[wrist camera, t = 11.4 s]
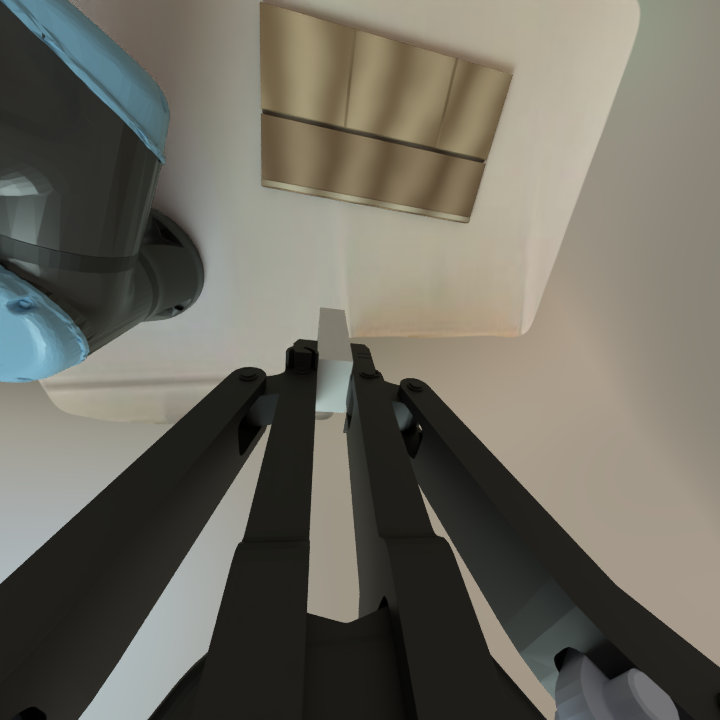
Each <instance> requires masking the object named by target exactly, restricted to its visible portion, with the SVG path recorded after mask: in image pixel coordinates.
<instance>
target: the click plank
mask: <svg viewBox="0 0 720 720" xmlns="http://www.w3.org/2000/svg"><path fill="white" fill-rule="evenodd" d="M261 159H262V179H261V182H262V186H263V187H268V188H273V189H279V190H284V191H290V192H295V193H301V194H306V195H312V196H317V197H323V198H328V199H334V200H339V201H345V202H350V203H356V204H361V205H367V206H372V207H378V208H383V209H389V210H394V211H400V212H405V213H411V214H416V215H422V216H428V217H433V218H439V219H444V220H450V221H455V222H461V223H468V222H469V220H470V215H471V212H472V209H473V205H474V202H475V198H476V195H477V191H478V188H479V185H480V181H481V178H482V174H483V171H484V167H485V164H484V163H480V162H475V161H471V160H466V159H462V158H457V157H453V156H449V155H444V154H440V153H435V152H431V151H426V150H422V149H417V148H413V147H408V146H404V145H400V144H395V143H391V142H386V141H382V140H377V139H373V138H368V137H364V136H359V135H355V134H351V133H346V132H342V131H337V130H333V129H328V128H324V127H319V126H315V125H310V124H306V123H302V122H297V121H293V120H288V119H284V118H279V117H275V116H270V115H266V114H261Z"/></svg>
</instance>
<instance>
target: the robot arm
mask: <svg viewBox="0 0 720 720" xmlns="http://www.w3.org/2000/svg"><path fill="white" fill-rule="evenodd" d="M169 120H170V111H169V106H168V103H167V100H166V98H165V96H164V94H163V92H162V90H161V89H160V87H159V86H158V85H157V83H156V82H155V81H154V80H153V78H152V77H151V76H150V75H149V74H148V73H147V72H146V71H145V70H144V69H143V68H142V67H141V66H140V65H139V64H138V63H137V62H136V61H135V60H134V59H133V58H132V57H131V56H130V55H128V54H127V53H126V52H125V51H124V50H123V49H122V48H121V47H120V46H119V45H118V44H116V43H115V42H114V41H113V40H112V39H111V38H110V37H109V36H108V35H107V34H105V33H104V32H103V31H102V30H101V29H100V28H99V27H98V26H96V25H95V24H94V23H93V22H92V21H91V20H90V19H89V18H87V17H86V16H85V15H84V14H83V13H82V12H81V11H79V10H78V9H77V8H76V7H75V6H74V5H73V4H71V3H70V2H69V1H68V0H0V381H1V382H29V381H33V380H39V379H44V378H47V377H50V376H52V375H54V374H57V373H59V372H61V371H63V370H65V369H67V368H69V367H71V366H74V365H77V364H79V363H81V362H82V361H84V360H85V358H87V356H89V355H90V354H92V353H93V352H95V351H96V350H98V349H100V348H101V347H103V346H104V345H106V344H107V343H109V342H111V341H112V340H114V339H115V338H117V337H118V336H120V335H122V334H123V333H125V332H126V331H128V330H130V329H131V328H133V327H134V326H136V325H137V324H139V323H140V322H147V321H157V320H165V319H169V318H172V317H175V316H177V315H179V314H181V313H182V312H184V311H185V310H187V309H188V308H189V307H191V306H192V305H193V304H194V303H195V302H196V300H197V299H198V297H199V295H200V293H201V291H202V287H203V282H204V272H203V266H202V262H201V259H200V256H199V254H198V252H197V250H196V248H195V246H194V244H193V243H192V241H191V240H190V238H189V237H188V236H187V234H186V233H185V232H184V231H183V230H182V229H181V228H180V227H179V226H178V225H177V224H176V223H175V222H174V221H172V220H171V219H170V218H168V217H167V216H165V215H164V214H162V213H161V212H159V211H157V210H155V209H153V208H151V205H152V201H153V197H154V193H155V189H156V185H157V181H158V177H159V173H160V169H161V165H162V164H163V165H164V164H165V161H166V160H165V156H164V154H163V153H164V148H165V142H166V137H167V131H168V126H169ZM346 407H347V413H346V419H345V425H344V431H343V432H344V433H347V446H348V458H349V469H350V481H351V493H352V505H353V517H354V529H355V541H356V552H357V564H358V576H359V590H360V598H359V619H357V620H355V621H352V622H349V623H343V622H339V621H335V620H331V619H328V618H324V617H320V616H317V615H313V614H309V613H307V597H308V575H309V553H310V552H309V551H310V540H309V531H310V511H311V491H312V490H311V489H312V470H313V450H314V430H315V411H322V412H342V413H345V409H346ZM270 424H272V425H271V430H270V434H269V437H268V442H267V446H266V450H265V454H264V458H263V462H262V466H261V470H260V474H259V478H258V482H257V486H256V490H255V494H254V498H253V502H252V506H251V510H250V514H249V518H248V522H247V526H246V531H245V534H244V538H243V540H242V542H240V543H239V544H238V546H237V548H236V550H235V553H234V557H233V560H232V563H231V567H230V571H229V574H228V578H227V582H226V586H225V590H224V593H223V597H222V601H221V605H220V609H219V612H218V616H217V620H216V624H215V628H214V631H213V635H212V639H211V643H210V646H209V650H208V652H207V653H206V654H205V655H204V656H203V657H202V658H201V659H200V660H198V661H197V662H196V663H195V664H194V665H193V666H192V667H191V668H190V669H189V670H188V671H187V673H185V675H184V676H183V677H182V678H181V679H180V680H179V681H178V682H177V684H176V685H175V686H174V687H173V688H172V690H171V691H170V692H169V693H168V695H167V696H166V697H165V699H164V700H163V701H162V702H161V704H160V705H159V706H158V707H157V709H156V710H155V711H154V712H153V714H152V715H151V716H150V718H149V719H148V720H547V719H546V718H545V717H544V716H543V715H542V713H541V712H540V711H539V710H538V709H537V708H536V707H535V705H534V704H533V703H532V702H531V701H530V700H529V699H528V697H527V696H526V695H525V694H524V693H523V692H522V691H521V689H520V688H519V687H518V686H517V685H516V684H515V683H514V681H513V680H512V679H511V678H510V677H509V676H508V674H507V673H506V672H505V671H504V670H503V669H502V667H501V666H500V665H499V664H498V663H497V662H496V661H495V659H494V658H493V657H492V656H491V655H490V652H489V649H488V646H487V644H486V641H485V638H484V636H483V633H482V630H481V627H480V625H479V622H478V619H477V616H476V614H475V611H474V608H473V606H472V603H471V600H470V597H469V594H468V592H467V589H466V586H465V583H464V581H463V578H462V575H461V572H460V570H459V567H458V564H457V562H456V559H455V556H454V553H453V551H452V549H451V547H450V545H449V543H448V542H447V541H446V539H445V538H443V537H440V536H437V535H436V534H435V533H434V531H433V528H432V526H431V523H430V520H429V517H428V514H427V510H426V507H425V504H424V502H423V498H422V495H421V492H420V489H419V486H420V488H421V490H422V491H423V493H424V495H425V496H426V498H427V500H428V501H429V503H430V505H431V507H432V508H433V510H434V511H435V513H436V515H437V517H438V519H439V520H440V522H441V524H442V525H443V527H444V528H445V530H446V532H447V534H448V535H449V537H450V539H451V541H452V542H453V544H454V546H455V547H456V549H457V551H458V552H459V554H460V556H461V557H462V559H463V561H464V563H465V564H466V566H467V568H468V569H469V571H470V573H471V575H472V576H473V578H474V580H475V581H476V583H477V585H478V586H479V588H480V590H481V591H482V593H483V595H484V597H485V598H486V600H487V602H488V603H489V605H490V607H491V608H492V610H493V612H494V614H495V615H496V617H497V619H498V620H499V622H500V624H501V625H502V627H503V629H504V630H505V632H506V633H507V635H508V637H509V638H510V640H511V641H512V643H513V644H514V646H515V648H516V649H517V651H518V652H519V654H520V655H521V657H522V658H523V659H524V661H525V662H526V663H527V665H528V666H529V668H530V669H531V671H532V672H533V673H534V675H535V676H536V677H537V679H538V680H539V681H540V683H541V684H542V685H543V686H544V688H545V689H546V690H547V691H548V693H549V694H550V695H551V696H552V697H553V699H554V700H555V701H556V708H557V711H556V712H555V720H720V667H718V666H717V665H716V664H714V663H713V662H712V661H711V660H710V659H708V658H707V657H706V656H705V655H703V654H702V653H701V652H700V651H698V650H697V649H696V648H694V647H693V646H692V645H691V644H690V643H688V642H687V641H686V640H684V639H683V638H682V637H681V636H679V635H678V634H677V633H676V632H674V631H673V630H672V629H671V628H669V627H668V626H667V625H665V624H664V623H663V622H662V621H661V620H659V619H658V618H657V617H656V616H654V615H653V614H652V613H650V612H649V611H648V610H647V609H645V608H644V607H643V606H642V605H640V604H639V603H638V602H637V601H635V600H634V599H633V598H631V597H630V596H629V595H628V594H627V593H625V592H624V591H623V590H622V589H620V588H619V587H618V586H617V585H615V583H614V582H613V581H612V580H611V579H610V578H609V577H608V576H607V575H606V574H605V573H604V572H603V571H602V570H601V569H600V567H598V565H597V564H596V563H595V562H594V561H593V560H592V559H591V558H590V557H589V556H588V555H587V554H586V553H585V552H584V551H583V549H582V548H580V546H579V545H578V544H577V543H576V542H575V541H574V540H573V539H572V538H571V537H570V536H569V535H568V533H567V532H566V531H565V530H564V529H563V528H562V527H561V526H560V525H559V524H558V523H557V522H556V521H555V520H554V519H553V518H552V517H551V515H550V514H549V513H548V512H547V511H546V510H545V509H544V508H543V507H542V506H541V505H540V504H539V503H538V502H537V501H536V500H535V498H534V497H533V496H532V495H531V494H530V493H529V492H528V491H527V490H526V489H525V488H524V487H523V486H522V485H521V484H520V483H519V482H518V481H517V479H516V478H515V477H514V476H513V475H512V474H511V473H510V472H509V471H508V470H507V469H506V468H505V467H504V466H503V464H502V463H501V462H500V461H499V460H498V459H497V458H496V457H495V456H494V455H493V454H492V453H491V452H490V451H489V450H488V449H487V447H486V446H485V445H484V444H483V443H482V442H481V441H480V440H479V439H478V438H477V437H476V436H475V435H474V434H473V433H472V432H471V430H470V429H469V428H468V427H467V426H466V425H465V424H464V423H463V422H462V421H461V420H460V419H459V418H458V417H457V416H456V415H455V413H454V412H453V411H452V410H451V409H450V408H449V407H448V406H447V405H446V404H445V403H444V402H443V401H442V400H441V399H440V398H439V396H437V394H436V393H435V392H434V391H433V390H432V389H431V388H430V387H429V386H428V385H427V384H426V383H424V382H422V381H420V380H418V379H414V378H406V379H403V380H402V381H401V382H400V385H396V384H392V383H389V382H386V381H384V379H383V376H382V374H381V373H380V372H379V371H378V370H376V369H375V367H374V363H373V360H372V357H371V353H370V350H369V348H367V347H366V346H365V345H362V344H352V343H350V340H349V334H348V329H347V323H346V317H345V311H344V310H338V309H329V308H320V317H319V328H318V339H317V341H313V340H303V339H299V340H297V341H296V342H295V343H294V345H293V346H292V347H290V348H288V349H287V350H286V369H285V372H283V373H281V374H278V375H273V376H266V373H265V372H264V371H263V370H262V369H259V368H255V367H244V368H240V369H237V370H235V371H233V372H232V373H231V374H230V375H229V376H228V377H226V378H225V379H224V380H223V381H222V382H221V383H220V384H219V385H218V386H217V387H215V388H214V389H213V390H212V391H211V392H210V393H209V394H208V395H207V396H206V397H205V398H203V399H202V400H201V401H200V402H199V403H198V404H197V405H196V406H195V407H194V408H192V409H191V410H190V411H189V412H188V413H187V414H186V415H185V416H184V417H183V418H182V419H180V420H179V421H178V422H177V423H176V424H175V425H174V426H173V427H172V428H171V429H170V430H169V431H167V432H166V433H165V434H164V435H163V436H162V437H161V438H160V439H159V440H157V441H156V442H155V443H154V444H153V445H152V446H151V447H150V448H149V449H148V450H147V451H145V452H144V453H143V454H142V455H141V456H140V457H139V458H138V459H137V460H136V461H135V462H133V463H132V464H131V465H130V466H129V467H128V468H127V469H126V470H125V471H124V472H122V473H121V474H120V475H119V476H118V477H117V478H116V479H115V480H114V481H113V482H111V484H109V485H108V486H107V487H106V488H105V489H104V490H103V491H102V492H101V493H99V494H98V495H97V496H96V497H95V498H94V499H93V500H92V501H91V502H90V503H89V504H87V505H86V506H85V507H84V508H83V509H82V510H81V511H80V512H79V513H78V514H77V515H75V516H74V517H73V518H72V519H71V520H70V521H69V522H68V523H67V524H66V525H64V527H62V528H61V529H60V530H59V531H58V532H57V533H56V534H55V535H53V536H52V537H51V538H50V539H49V540H48V541H47V542H46V543H45V544H44V545H43V546H42V547H40V548H39V549H38V550H37V551H36V552H35V553H34V554H33V555H32V556H30V557H29V558H28V559H27V560H26V561H25V562H24V563H23V564H22V565H21V566H20V567H18V568H17V569H16V570H15V571H14V572H13V573H12V574H11V575H10V576H9V577H8V578H6V579H5V580H4V581H3V582H2V583H1V584H0V720H78V719H79V717H80V716H81V715H82V713H83V712H84V711H85V710H86V708H87V707H88V705H89V704H90V703H91V702H92V700H93V699H94V697H95V696H96V694H97V693H98V691H99V690H100V688H101V687H102V685H103V684H104V683H105V681H106V679H107V678H108V677H109V675H110V674H111V672H112V671H113V669H114V668H115V666H116V665H117V663H118V662H119V660H120V659H121V657H122V655H123V654H124V652H125V651H126V649H127V648H128V646H129V645H130V643H131V641H132V640H133V638H134V637H135V635H136V634H137V632H138V630H139V629H140V627H141V626H142V624H143V623H144V621H145V619H146V618H147V616H148V615H149V613H150V611H151V610H152V608H153V606H154V605H155V604H156V602H157V600H158V599H159V597H160V596H161V594H162V593H163V591H164V589H165V588H166V586H167V585H168V583H169V582H170V580H171V578H172V577H173V575H174V573H175V572H176V570H177V569H178V567H179V566H180V564H181V562H182V561H183V559H184V558H185V556H186V555H187V553H188V552H189V550H190V548H191V547H192V545H193V544H194V542H195V540H196V539H197V537H198V536H199V534H200V533H201V531H202V530H203V528H204V526H205V525H206V523H207V522H208V520H209V519H210V517H211V515H212V514H213V512H214V511H215V509H216V507H217V506H218V504H219V503H220V501H221V500H222V498H223V496H224V495H225V493H226V492H227V490H228V489H229V487H230V485H231V484H232V482H233V481H234V479H235V478H236V476H237V474H238V473H239V471H240V470H241V468H242V467H243V465H244V463H245V462H246V460H247V459H248V457H249V455H250V454H251V452H252V451H253V449H254V448H255V446H256V445H257V443H258V441H259V440H260V438H261V437H262V435H263V433H264V432H265V430H266V427H267V425H270ZM419 424H420V426H421V428H422V430H421V429H420V428H419ZM418 485H419V486H418Z"/></svg>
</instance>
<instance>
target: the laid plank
mask: <svg viewBox="0 0 720 720" xmlns="http://www.w3.org/2000/svg"><path fill="white" fill-rule="evenodd" d="M260 62H261V108H262V113H263V114H266V115H270V116H275V117H279V118H284V119H288V120H293V121H297V122H302V123H306V124H310V125H315V126H319V127H324V128H328V129H333V130H337V131H342V132H346V133H351V134H355V135H359V136H364V137H368V138H373V139H377V140H382V141H386V142H391V143H395V144H400V145H404V146H408V147H413V148H417V149H422V150H426V151H431V152H435V153H440V154H444V155H449V156H453V157H457V158H462V159H466V160H471V161H475V162H480V163H483V162H484V160H486V159H487V157H488V154H489V151H490V148H491V144H492V141H493V138H494V134H495V131H496V128H497V125H498V121H499V118H500V115H501V112H502V108H503V105H504V102H505V99H506V95H507V92H508V89H509V85H510V82H511V79H512V76H513V75H511V74H508V73H504V72H501V71H497V70H494V69H490V68H487V67H484V66H480V65H477V64H473V63H470V62H466V61H463V60H459V59H457V58H453V57H449V56H446V55H442V54H439V53H435V52H432V51H428V50H425V49H422V48H418V47H415V46H411V45H408V44H404V43H401V42H397V41H394V40H390V39H387V38H384V37H380V36H377V35H373V34H370V33H366V32H363V31H359V30H356V29H353V28H349V27H346V26H342V25H339V24H335V23H332V22H328V21H325V20H322V19H318V18H315V17H311V16H308V15H304V14H301V13H297V12H294V11H290V10H287V9H284V8H280V7H277V6H273V5H270V4H266V3H263V2H260Z"/></svg>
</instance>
